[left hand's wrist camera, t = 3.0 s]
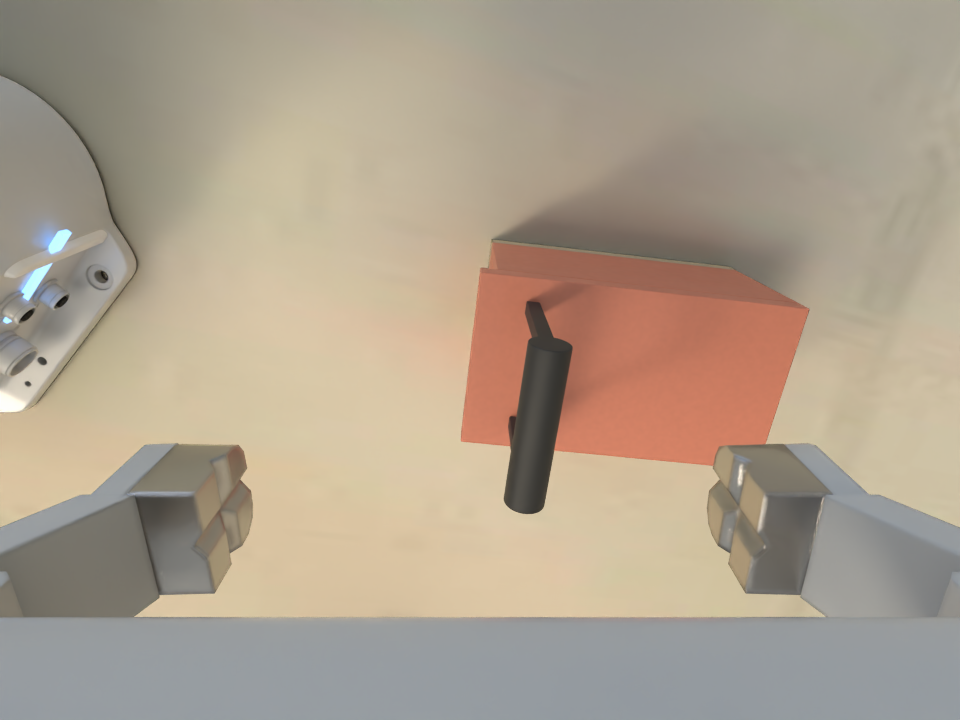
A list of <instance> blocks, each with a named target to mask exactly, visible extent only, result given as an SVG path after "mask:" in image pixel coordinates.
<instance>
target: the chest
mask: <svg viewBox="0 0 960 720" xmlns="http://www.w3.org/2000/svg"><path fill="white" fill-rule="evenodd" d="M488 269H497V270H506V271H515V272H524V273H533V274H542V275H551V276H560V277H569V278H578V279H587V280H596V281H605V282H614V283H623V284H632V285H640V286H649V287H658V288H667V289H676V290H685V291H694V292H703V293H712V294H721V295H730V296H739V297H748V298H757V299H766V300H775V301H784V302H793V303H797V302H795V301H793V300H792V299H790V298H788V297H786V296H784V295H782V294H780V293H778V292H776V291H774V290H772V289H770V288H769V287H767V286H765V285H763V284H761V283H759V282H757V281H755V280H753V279H751V278H749V277H747V276H746V275H744V274H742V273H740V272H738V271H736V270H735V269H733V268H731V267H729V266H720V265H711V264H703V263H694V262H685V261H676V260H668V259H659V258H650V257H642V256H633V255H624V254H615V253H607V252H598V251H589V250H580V249H572V248H563V247H554V246H545V245H537V244H528V243H519V242H511V241H502V240H493V239H492V240H491V249H490V257H489V265H488Z"/></svg>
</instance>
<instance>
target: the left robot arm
mask: <svg viewBox="0 0 960 720" xmlns="http://www.w3.org/2000/svg"><path fill="white" fill-rule="evenodd" d="M101 270H102V271H104V272H105V273H106V274H107V275H108V281H107V280H105V279H104V278H103V277H102V276H101ZM135 271H136V259H135V257H134V254H133V252H132V250H131V248H130V247H129V245H128V243H127V242H126V240H125V239H124V237H123V236H122V234H121V233H120V231H119V230H118V228H117V227H116V226H115V224H114V222H113V220H112V217H111V214H110V211H109V208H108V204H107V199H106V195H105V191H104V187H103V184H102V181H101V178H100V175H99V173H98V170H97V168H96V166H95V164H94V161H93V160H92V158H91V156H90V154H89V152H88V150H87V149H86V147H85V146H84V144H83V142H82V141H81V140H80V138H79V137H78V135H77V134H76V133H75V131H74V130H73V129H72V128H71V126H70V125H69V124H68V123H67V122H66V121H65V120H64V119H63V118H62V117H61V116H60V115H59V114H58V113H57V112H56V111H55V110H54V109H53V108H52V107H51V106H50V105H49V104H47V103H46V102H45V101H44V100H42V99H41V98H40V97H38V96H37V95H36V94H34V93H33V92H31V91H30V90H28V89H26V88H25V87H23V86H21V85H20V84H18V83H16V82H14V81H12V80H10V79H8V78H5V77H3V76H0V412H1V413H17V412H22V411H25V410H27V409H29V408H31V407H33V406H34V405H35V404H36V403H37V402H38V400H39V399H40V398H41V396H42V395H43V394H44V393H45V391H46V390H47V389H48V387H49V386H50V385H51V383H52V382H53V381H54V379H55V378H56V377H57V375H58V374H59V373H60V371H61V370H62V369H63V368H64V366H65V365H66V364H67V362H68V361H69V360H70V358H71V357H72V356H73V354H74V353H75V352H76V350H77V349H78V348H79V346H80V345H81V344H82V342H83V341H84V340H85V338H86V337H87V336H88V334H89V333H90V332H91V331H92V329H93V328H94V327H95V325H96V324H97V323H98V321H99V320H100V319H101V317H102V316H103V315H104V313H105V312H106V311H107V309H108V308H109V307H110V305H111V304H112V303H113V301H114V300H115V299H116V298H117V296H118V295H119V294H120V292H121V291H122V290H123V288H124V287H125V286H126V284H127V283H128V282H129V280H130V279H131V278H132V276H133V275H134V273H135ZM246 469H247V465H246V460H245V455H244V451H243V450H242V449H241V448H240V446H239V445H209V444H178V443H171V444H149V445H144V446H143V447H142V448H141V449H140V450H139V451H138V452H137V453H136V454H135V455H133V456H132V457H131V458H130V459H129V460H128V461H127V462H126V463H125V464H124V465H123V466H121V467H120V468H119V469H118V470H117V471H116V472H115V473H114V474H113V475H112V476H111V477H109V478H108V479H107V480H106V481H105V482H104V483H103V484H102V485H101V486H100V487H99V488H97V489H96V490H95V491H94V492H93V493H92V494H91V495H79V496H77V497H74V498H72V499H69V500H67V501H64V502H62V503H59V504H57V505H55V506H52V507H50V508H47V509H45V510H42V511H40V512H37V513H35V514H32V515H30V516H27V517H25V518H23V519H20V520H18V521H15V522H13V523H10V524H8V525H5V526H3V527H0V720H960V528H959V527H957V526H955V525H952V524H950V523H947V522H945V521H942V520H940V519H937V518H935V517H932V516H930V515H928V514H925V513H923V512H920V511H918V510H915V509H913V508H910V507H908V506H905V505H903V504H900V503H898V502H896V501H893V500H891V499H888V498H886V497H883V496H881V495H869V494H868V493H867V492H866V491H865V490H864V489H863V488H861V487H860V486H859V485H858V484H857V483H856V482H855V481H854V480H853V479H852V478H851V477H850V476H848V475H847V474H846V473H845V472H844V471H843V470H842V469H841V468H840V467H839V466H838V465H836V464H835V463H834V462H833V461H832V460H831V459H830V458H829V457H828V456H827V455H826V454H825V453H823V452H822V451H821V450H820V449H819V448H818V447H817V446H816V445H812V444H809V443H801V444H758V445H725V446H719V448H718V450H717V452H716V455H715V459H714V465H713V469H714V471H715V472H716V474H717V475H718V477H719V479H720V480H719V481H718V482H717V483H716V484H715V485H714V486H713V487H712V488H711V489H710V490H709V496H708V504H707V513H708V524H709V527H710V530H711V533H712V536H713V538H714V540H715V541H716V543H717V545H718V546H719V547H721V548H722V549H724V550H726V551H727V552H729V553H730V558H729V566H730V568H731V569H732V571H733V573H734V574H735V576H736V578H737V580H738V581H739V583H740V585H741V586H742V588H743V590H744V591H745V593H749V594H786V595H801V596H800V597H801V598H802V599H803V600H805V601H806V602H807V603H809V604H810V605H811V606H813V607H814V608H815V609H817V610H818V611H819V612H821V613H822V614H823V615H825V616H826V617H134V616H135V615H137V614H138V613H140V612H141V611H142V610H144V609H145V608H146V607H148V606H149V605H150V604H152V603H153V602H154V601H156V600H157V599H158V598H159V595H173V594H209V593H215V592H216V590H217V588H218V586H219V585H220V583H221V581H222V580H223V578H224V576H225V574H226V573H227V571H228V569H229V568H230V566H231V558H230V553H231V552H233V551H234V550H236V549H238V548H239V547H241V546H242V545H243V543H244V541H245V540H246V538H247V536H248V534H249V530H250V526H251V522H252V517H253V502H252V495H251V490H250V489H249V488H248V487H247V486H246V485H245V484H244V483H243V482H242V481H241V480H240V479H241V477H242V475H243V474H244V472H245V471H246Z"/></svg>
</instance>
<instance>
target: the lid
mask: <svg viewBox="0 0 960 720" xmlns="http://www.w3.org/2000/svg"><path fill="white" fill-rule="evenodd" d="M808 312H809V308H807V307H805V306H803V305H801V304H799V303H793V302H784V301H775V300H766V299H757V298H748V297H739V296H730V295H721V294H712V293H703V292H694V291H685V290H676V289H667V288H658V287H649V286H640V285H632V284H623V283H614V282H605V281H596V280H587V279H578V278H569V277H560V276H551V275H542V274H533V273H524V272H515V271H506V270H497V269H488V268H481V269H480V276H479V285H478V293H477V302H476V310H475V319H474V327H473V336H472V344H471V353H470V361H469V370H468V378H467V387H466V395H465V404H464V413H463V421H462V430H461V441H462V442H472V443H482V444H493V445H503V446H510V447H511V455H510V461H509V468H508V474H507V481H506V487H505V494H504V502H505V504H506V505H507V506H508V507H509V508H510V509H512V510H514V511H516V512H519V513H523V514H534V513H537V512H539V511H541V510H542V509H543V507H544V503H545V498H546V492H547V487H548V482H549V476H550V471H551V465H552V460H553V454H554V450H555V451H566V452H576V453H587V454H597V455H608V456H618V457H628V458H639V459H649V460H660V461H670V462H681V463H691V464H701V465H712V466H713V465H714V459H715V455H716V452H717V450H718V448H719V446H725V445H758V444H765V443H766V440H767V437H768V434H769V431H770V428H771V425H772V422H773V419H774V416H775V413H776V410H777V407H778V404H779V401H780V398H781V395H782V392H783V389H784V385H785V382H786V379H787V376H788V373H789V370H790V367H791V364H792V361H793V358H794V355H795V352H796V349H797V346H798V343H799V340H800V337H801V334H802V331H803V327H804V324H805V321H806V318H807V315H808Z"/></svg>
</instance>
